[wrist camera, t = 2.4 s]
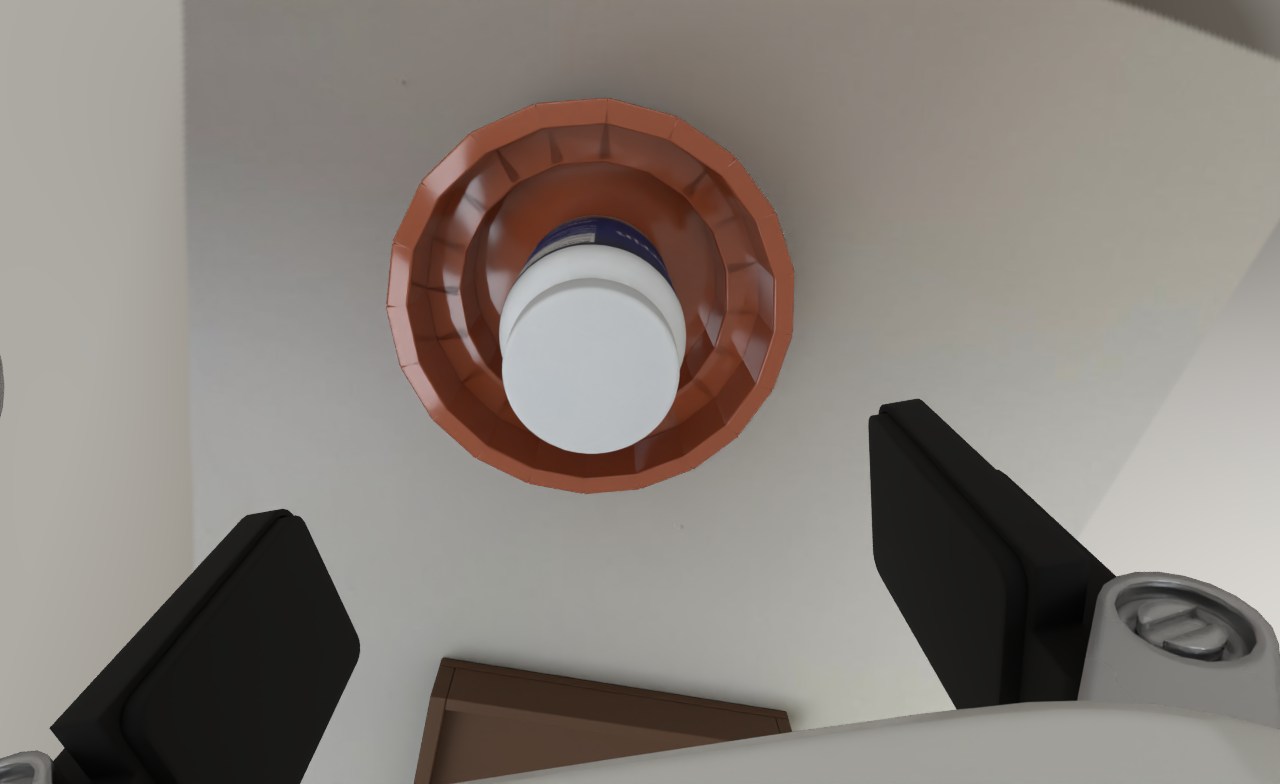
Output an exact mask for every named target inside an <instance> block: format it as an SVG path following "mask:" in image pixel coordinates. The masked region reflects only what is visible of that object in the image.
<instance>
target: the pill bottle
mask: <svg viewBox="0 0 1280 784" xmlns="http://www.w3.org/2000/svg"><path fill="white" fill-rule="evenodd" d="M499 341H500V349H501V354H502V357H503V361H502V377H503V384H504V388H505V392H506V395H507V398H508V400H509V403H510V405H511V407H512V409H513V411H514V412H515V414H516V415H517V416H518V418H519V419H520V420H521V422H522V423H523V424H524V425H525V426H526V427H527V428H528V429H529V430H530V431H531V432H533V433H534V434H535V435H536V436H538V437H539V438H541V439H542V440H544V441H546V442H548V443H549V444H552V445H554V446H556V447H559V448H561V449H564V450H567V451H572V452H577V453H586V454H598V453H606V452H612V451H616V450H619V449H623V448H625V447H628V446H630V445H632V444H634V443H636V442H638V441H639V440H641V439H643V438H644V437H646V436H647V435H648V434H650V433H651V432H652V431H653V430H654V429H655V428H656V427H657V426H658V425H659V424H660V423H661V422H662V420H663V419H664V418H665V416H666V415H667V413H668V411H669V410H670V408H671V406H672V404H673V402H674V399H675V396H676V393H677V389H678V384H679V376H680V368H681V365H682V362H683V358H684V354H685V346H686V327H685V320H684V315H683V311H682V307H681V304H680V302H679V299H678V297H677V294H676V292H675V290H674V287H673V284H672V282H671V279H670V277H669V274H668V272H667V269H666V266H665V264H664V262H663V259H662V257H661V255H660V253H659V252H658V250H657V248H656V247H655V246H654V244H653V243H652V242H651V241H650V239H649V238H648V237H647V236H646V235H645V234H643V233H642V232H641V231H640V230H638V229H637V228H636V227H634V226H633V225H631V224H629V223H627V222H625V221H622V220H620V219H616V218H613V217H608V216H597V215H593V216H583V217H578V218H574V219H572V220H569V221H566V222H564V223H562V224H560V225H559V226H557V227H555V228H554V229H553V230H551V231H550V232H549V233H548V234H547V235H546V236H545V237H544V238H543V239H542V240H541V241H540V242H539V243H538V244H537V246H536V247H535V248H534V250H533V251H532V253H531V255H530V256H529V258H528V260H527V261H526V263H525V265H524V267H523V269H522V270H521V272H520V274H519V276H518V277H517V279H516V281H515V283H514V284H513V286H512V288H511V290H510V292H509V294H508V296H507V298H506V301H505V304H504V307H503V310H502V314H501V319H500V327H499Z"/></svg>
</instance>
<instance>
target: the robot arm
mask: <svg viewBox="0 0 1280 784" xmlns="http://www.w3.org/2000/svg"><path fill="white" fill-rule="evenodd" d="M869 452H870V479H871V507H872V534H873V554H874V560H875V564H876V567H877V570H878V572H879V574H880V576H881V578H882V580H883V582H884V583H885V585H886V587H887V589H888V590H889V592H890V594H891V596H892V597H893V599H894V601H895V603H896V604H897V606H898V608H899V610H900V611H901V613H902V615H903V617H904V618H905V620H906V622H907V624H908V625H909V627H910V629H911V631H912V632H913V634H914V636H915V638H916V639H917V641H918V643H919V645H920V646H921V648H922V650H923V652H924V653H925V655H926V657H927V658H928V660H929V662H930V664H931V665H932V667H933V669H934V671H935V672H936V674H937V676H938V678H939V679H940V681H941V683H942V685H943V686H944V688H945V690H946V692H947V693H948V695H949V697H950V699H951V700H952V702H953V704H954V706H955V707H956V709H957V710H950V711H942V712H933V713H925V714H916V715H909V716H902V717H895V718H888V719H882V720H875V721H868V722H860V723H853V724H845V725H838V726H830V727H823V728H816V729H809V730H803V731H796V732H789V733H782V734H776V735H769V736H762V737H756V738H749V739H742V740H736V741H729V742H722V743H715V744H709V745H702V746H695V747H689V748H682V749H675V750H669V751H662V752H655V753H648V754H642V755H635V756H628V757H622V758H615V759H609V760H602V761H596V762H589V763H583V764H576V765H570V766H563V767H557V768H550V769H544V770H537V771H531V772H524V773H518V774H511V775H505V776H498V777H492V778H486V779H479V780H473V781H466V782H460V783H454V784H1280V652H1279V643H1278V641H1277V638H1276V635H1275V633H1274V630H1273V628H1272V627H1271V625H1270V624H1269V623H1268V622H1267V621H1266V620H1265V619H1264V618H1263V617H1262V615H1261V614H1260V613H1259V612H1258V611H1257V610H1255V609H1254V608H1252V607H1251V606H1250V605H1248V604H1247V603H1245V602H1244V601H1242V600H1241V599H1240V598H1238V597H1237V596H1235V595H1233V594H1231V593H1229V592H1226V591H1224V590H1222V589H1220V588H1218V587H1216V586H1214V585H1212V584H1209V583H1206V582H1202V581H1199V580H1196V579H1193V578H1189V577H1186V576H1181V575H1175V574H1169V573H1162V572H1134V573H1130V574H1126V575H1122V576H1117V577H1116V576H1115V575H1114V574H1113V573H1112V572H1111V571H1110V570H1109V569H1108V568H1106V567H1105V566H1104V565H1103V564H1102V563H1101V562H1100V561H1099V560H1098V559H1097V558H1096V557H1095V556H1094V555H1092V554H1091V553H1090V552H1089V551H1088V550H1087V549H1086V548H1085V547H1084V546H1083V545H1082V544H1080V543H1079V542H1078V541H1077V540H1076V539H1075V538H1074V537H1073V536H1072V535H1071V534H1070V533H1069V532H1068V531H1067V530H1065V529H1064V528H1063V527H1062V526H1061V525H1060V524H1059V523H1058V522H1057V521H1056V520H1055V519H1054V518H1052V517H1051V516H1050V515H1049V514H1048V513H1047V512H1046V511H1045V510H1044V509H1043V508H1042V507H1041V506H1039V505H1038V504H1037V503H1036V502H1035V501H1034V500H1033V499H1032V498H1031V497H1030V496H1029V495H1028V494H1026V493H1025V492H1024V491H1023V490H1022V489H1021V488H1020V487H1019V486H1018V485H1017V484H1016V483H1015V482H1013V481H1012V480H1011V479H1010V478H1009V477H1008V476H1007V475H1006V474H1004V473H1003V472H1001V471H1000V470H996V469H995V468H994V467H993V466H992V465H990V464H989V463H988V462H987V461H986V460H985V459H984V458H983V457H982V456H981V455H980V454H979V453H978V452H977V451H976V450H974V449H973V448H972V447H971V446H970V445H969V444H968V443H967V442H966V441H965V440H964V439H963V438H962V437H961V436H959V435H958V434H957V433H956V432H955V431H954V430H953V429H952V428H951V427H950V426H949V425H948V424H947V423H946V422H945V421H943V420H942V419H941V418H940V417H939V416H938V415H937V414H936V413H935V412H934V411H933V410H932V409H931V408H930V407H928V406H927V405H926V404H925V403H924V402H923V401H922V400H920V399H913V400H907V401H901V402H895V403H890V404H884V405H882V406H881V407H880V410H879V415H873V416H871V417H870V418H869ZM359 654H360V642H359V638H358V635H357V633H356V631H355V629H354V627H353V624H352V622H351V620H350V618H349V616H348V614H347V612H346V609H345V607H344V605H343V603H342V601H341V599H340V597H339V594H338V592H337V590H336V588H335V586H334V584H333V582H332V579H331V577H330V575H329V573H328V571H327V569H326V567H325V564H324V562H323V560H322V558H321V556H320V554H319V552H318V550H317V547H316V545H315V543H314V541H313V539H312V537H311V535H310V532H309V530H308V528H307V526H306V524H305V522H304V521H303V519H302V518H301V517H299V516H296V515H295V516H293V514H292V513H291V512H290V511H288V510H285V509H279V510H274V511H268V512H262V513H256V514H251V515H247V516H245V517H244V518H243V519H241V521H240V522H239V523H238V524H237V525H236V526H235V527H234V528H233V529H232V530H231V531H230V533H229V534H228V535H227V536H226V537H225V538H224V539H223V540H222V541H221V542H220V543H219V544H218V546H217V547H216V548H215V549H214V550H213V551H212V552H211V553H210V554H209V555H208V556H207V558H206V559H205V560H204V561H203V562H202V563H201V564H200V565H199V566H198V567H197V568H196V569H195V571H194V572H193V573H192V574H191V575H190V576H189V577H188V578H187V579H186V580H185V582H184V583H183V584H182V585H181V586H180V587H179V588H178V589H177V590H176V591H175V592H174V593H173V594H172V596H171V597H170V598H169V599H168V600H167V601H166V602H165V603H164V604H163V605H162V606H161V607H160V609H159V610H158V611H157V612H156V613H155V614H154V615H153V616H152V617H151V618H150V619H149V621H148V622H147V623H146V624H145V625H144V626H143V627H142V628H141V629H140V630H139V631H138V632H137V634H136V635H135V636H134V637H133V638H132V639H131V640H130V641H129V642H128V643H127V645H126V646H125V647H124V648H123V649H122V650H121V651H120V652H119V653H118V654H117V655H116V656H115V658H114V659H113V660H112V661H111V662H110V663H109V664H108V665H107V666H106V667H105V668H104V669H103V670H102V672H101V673H100V674H99V675H98V676H97V677H96V678H95V679H94V680H93V682H91V684H90V685H89V686H88V687H87V688H86V689H85V690H84V691H83V692H82V693H81V694H80V695H79V697H78V698H77V699H76V700H75V701H74V702H73V703H72V704H71V705H70V706H69V708H68V709H67V710H66V711H65V712H64V713H63V714H62V715H61V716H60V717H59V718H58V719H57V721H56V722H55V723H54V724H53V725H52V726H51V727H50V729H51V731H52V732H53V733H54V734H55V736H56V737H57V738H58V740H59V741H60V742H61V743H62V745H63V746H64V747H65V748H64V749H63V751H62V752H61V753H60V754H59V755H58V757H57V758H56V759H55V760H54V761H52V759H51V758H50V757H49V756H48V755H47V754H45V753H42V752H39V751H28V752H20V753H17V754H13V755H10V756H7V757H4V758H1V759H0V784H300V783H301V780H302V778H303V776H304V774H305V772H306V770H307V768H308V766H309V763H310V761H311V759H312V757H313V755H314V753H315V751H316V749H317V746H318V744H319V742H320V740H321V738H322V736H323V734H324V732H325V729H326V727H327V725H328V723H329V721H330V719H331V717H332V715H333V712H334V710H335V708H336V706H337V704H338V702H339V700H340V698H341V695H342V693H343V691H344V689H345V687H346V685H347V683H348V681H349V678H350V676H351V674H352V672H353V670H354V668H355V666H356V664H357V661H358V658H359Z"/></svg>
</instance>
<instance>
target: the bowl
mask: <svg viewBox="0 0 1280 784" xmlns="http://www.w3.org/2000/svg"><path fill="white" fill-rule="evenodd" d="M421 182H422V183H420V184H419V186H418V188H417V191H416V193H415V195H414V197H413V199H412V201H411V203H410V205H409V208H408V210H407V212H406V214H405V216H404V218H403V220H402V222H401V225H400V227H399V229H398V231H397V233H396V235H395V237H394V239H393V242H394V243H393V244H392V251H391V261H390V271H389V282H388V292H387V302H386V304H387V306H386V309H387V313H388V317H389V322H390V326H391V330H392V334H393V339H394V343H395V347H396V351H397V355H398V360H399V364H400V366H401V369H402V370H403V372H404V374H405V375H406V377H407V379H408V380H409V382H410V384H411V385H412V387H413V389H414V390H415V392H416V394H417V395H418V397H419V399H420V400H421V402H422V403H423V405H424V407H425V408H426V410H427V412H428V413H429V415H430V417H431V418H432V419H433V421H435V422H436V423H437V424H438V425H439V426H440V427H441V428H442V429H443V430H445V431H446V432H447V433H448V434H449V435H450V436H451V437H452V438H453V439H455V440H456V441H457V442H458V443H459V444H460V445H461V446H462V447H463V448H465V449H466V450H467V451H468V452H469V453H470V454H471V455H472V456H473V457H475V458H476V457H477V459H479V460H481V461H483V462H485V463H487V464H489V465H491V466H493V467H495V468H497V469H499V470H501V471H503V472H505V473H507V474H509V475H511V476H513V477H515V478H517V479H520V480H522V481H524V482H526V483H528V482H529V484H533V485H538V486H544V487H549V488H555V489H560V490H566V491H571V492H576V493H585V494H590V493H602V492H614V491H625V490H637V489H640V488H644V487H647V486H650V485H652V484H655V483H658V482H660V481H663V480H666V479H668V478H671V477H674V476H677V475H679V474H682V473H685V472H687V471H690V470H692V469H695V468H696V467H697V466H699V465H700V464H701V463H703V462H704V461H706V460H707V459H708V458H710V457H711V456H712V455H714V454H715V453H716V452H718V451H719V450H720V449H722V448H723V447H725V446H726V445H727V444H729V443H730V442H731V441H733V440H734V439H735V438H737V437H738V435H739V434H740V433H741V432H742V430H743V429H744V428H745V426H746V425H747V424H748V422H749V421H750V420H751V418H752V417H753V416H754V414H755V413H756V412H757V410H758V409H759V408H760V406H761V405H762V404H763V402H764V401H765V400H766V398H767V397H768V396H769V394H770V393H771V392H772V389H773V388H774V386H775V383H776V380H777V378H778V375H779V372H780V369H781V366H782V363H783V361H784V358H785V355H786V352H787V349H788V347H789V344H790V341H791V338H792V333H793V312H794V269H793V265H792V262H791V259H790V256H789V252H788V249H787V246H786V243H785V239H784V236H783V233H782V230H781V227H780V223H779V220H778V217H777V214H776V212H775V211H774V208H773V207H772V206H771V204H770V203H769V201H768V200H767V199H766V197H765V196H764V195H763V193H762V192H761V190H760V189H759V188H758V186H757V185H756V184H755V182H754V181H753V180H752V178H751V177H750V175H749V174H748V173H747V171H746V170H745V169H744V167H743V166H742V164H741V163H740V162H739V160H738V159H737V158H735V156H734V155H733V154H731V153H730V152H728V151H727V150H726V149H724V148H723V147H721V146H720V145H718V144H717V143H715V142H714V141H713V140H711V139H710V138H708V137H707V136H705V135H704V134H702V133H701V132H699V131H698V130H697V129H695V128H694V127H692V126H691V125H689V124H688V123H686V122H685V121H684V120H682V119H681V118H678V117H677V116H674V115H670V114H667V113H663V112H659V111H656V110H652V109H648V108H645V107H641V106H637V105H634V104H630V103H626V102H623V101H619V100H615V99H612V98H595V99H582V100H569V101H556V102H543V103H536V104H532V105H530V106H528V107H526V108H523V109H521V110H519V111H517V112H515V113H512V114H510V115H508V116H506V117H504V118H501V119H499V120H497V121H495V122H493V123H490V124H488V125H486V126H484V127H482V128H479V129H477V130H475V131H473V132H471V133H470V134H468V135H467V136H466V137H465V138H464V139H463V140H462V141H461V142H460V143H459V144H458V145H457V146H456V147H455V148H454V149H453V150H452V151H451V152H450V153H449V154H448V155H447V156H446V157H445V158H444V159H443V160H442V161H441V162H440V163H439V164H438V165H437V166H436V167H435V168H434V169H433V170H432V171H431V172H430V173H429V174H428V175H427V176H426V177H425V178H424V179H423V180H422V181H421ZM593 215H597V216H608V217H613V218H616V219H620V220H622V221H625V222H627V223H629V224H631V225H633V226H634V227H636V228H637V229H638V230H640V231H641V232H642V233H643V234H645V235H646V236H647V237H648V238H649V239H650V241H651V242H652V243H653V244H654V246H655V247H656V248H657V250H658V252H659V253H660V255H661V257H662V259H663V262H664V264H665V266H666V269H667V272H668V274H669V277H670V279H671V282H672V284H673V287H674V290H675V292H676V294H677V297H678V299H679V302H680V304H681V307H682V311H683V315H684V320H685V327H686V346H685V354H684V358H683V362H682V365H681V368H680V376H679V384H678V389H677V393H676V396H675V399H674V402H673V404H672V406H671V408H670V410H669V411H668V413H667V415H666V416H665V418H664V419H663V420H662V422H661V423H660V424H659V425H658V426H657V427H656V428H655V429H654V430H653V431H652V432H651V433H650V434H648V435H647V436H646V437H644V438H643V439H641V440H639V441H638V442H636V443H634V444H632V445H630V446H628V447H625V448H623V449H619V450H616V451H612V452H606V453H598V454H586V453H577V452H572V451H567V450H564V449H561V448H559V447H556V446H554V445H552V444H549V443H548V442H546V441H544V440H542V439H541V438H539V437H538V436H536V435H535V434H534V433H533V432H531V431H530V430H529V429H528V428H527V427H526V426H525V425H524V424H523V423H522V422H521V420H520V419H519V418H518V416H517V415H516V414H515V412H514V411H513V409H512V407H511V405H510V403H509V400H508V398H507V395H506V392H505V388H504V384H503V377H502V361H503V357H502V354H501V349H500V341H499V327H500V319H501V314H502V310H503V307H504V304H505V301H506V298H507V296H508V294H509V292H510V290H511V288H512V286H513V284H514V283H515V281H516V279H517V277H518V276H519V274H520V272H521V270H522V269H523V267H524V265H525V263H526V261H527V260H528V258H529V256H530V255H531V253H532V251H533V250H534V248H535V247H536V246H537V244H538V243H539V242H540V241H541V240H542V239H543V238H544V237H545V236H546V235H547V234H548V233H549V232H550V231H551V230H553V229H554V228H555V227H557V226H559V225H560V224H562V223H564V222H566V221H569V220H572V219H574V218H578V217H583V216H593Z"/></svg>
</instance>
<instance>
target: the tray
mask: <svg viewBox="0 0 1280 784" xmlns="http://www.w3.org/2000/svg"><path fill="white" fill-rule="evenodd" d="M789 732H792V730H791V727H790V723H789V720H788V716H787V713H786V712H783V711H777V710H770V709H764V708H758V707H751V706H745V705H738V704H732V703H726V702H719V701H713V700H707V699H700V698H694V697H688V696H681V695H675V694H668V693H662V692H656V691H649V690H643V689H637V688H630V687H624V686H618V685H611V684H605V683H598V682H592V681H586V680H579V679H573V678H567V677H560V676H554V675H548V674H541V673H535V672H528V671H522V670H516V669H509V668H503V667H497V666H490V665H484V664H477V663H471V662H465V661H458V660H452V659H446V658H442V660H441V663H440V667H439V670H438V673H437V676H436V680H435V683H434V686H433V690H432V693H431V696H430V701H429V707H428V712H427V717H426V722H425V728H424V733H423V738H422V743H421V749H420V754H419V759H418V765H417V770H416V775H415V780H414V784H454V783H460V782H466V781H473V780H479V779H486V778H492V777H498V776H505V775H511V774H518V773H524V772H531V771H537V770H544V769H550V768H557V767H563V766H570V765H576V764H583V763H589V762H596V761H602V760H609V759H615V758H622V757H628V756H635V755H642V754H648V753H655V752H662V751H669V750H675V749H682V748H689V747H695V746H702V745H709V744H715V743H722V742H729V741H736V740H742V739H749V738H756V737H762V736H769V735H776V734H782V733H789Z"/></svg>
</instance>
